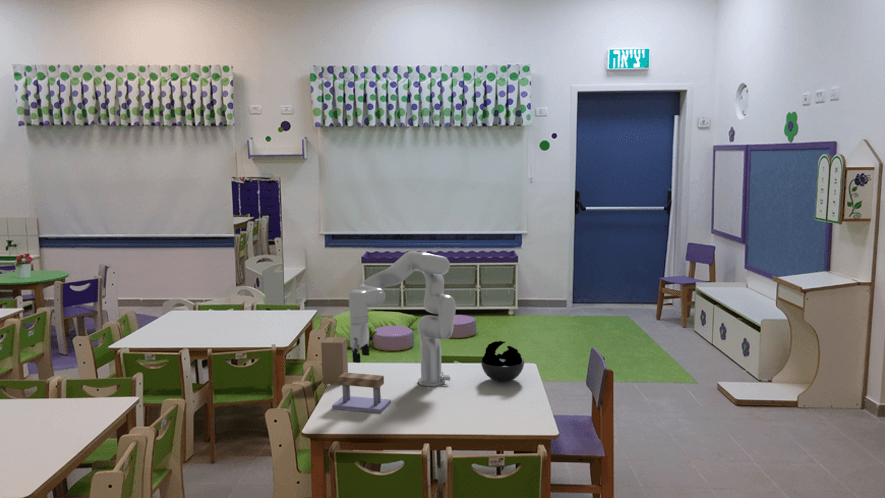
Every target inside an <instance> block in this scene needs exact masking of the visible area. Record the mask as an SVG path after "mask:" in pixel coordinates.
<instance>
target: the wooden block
mask: <svg viewBox="0 0 885 498" xmlns="http://www.w3.org/2000/svg"><path fill="white" fill-rule="evenodd" d="M320 348H321V375H322V384H323V385H339V376H341V375H342V374H343V373H345V372H346V373H349V362H348V338H347V337H342V336H341V337H338V336H337V337H335V336H332V337H330V336H326V337H325V339H323V340H322V342H321V343H320Z"/></svg>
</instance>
